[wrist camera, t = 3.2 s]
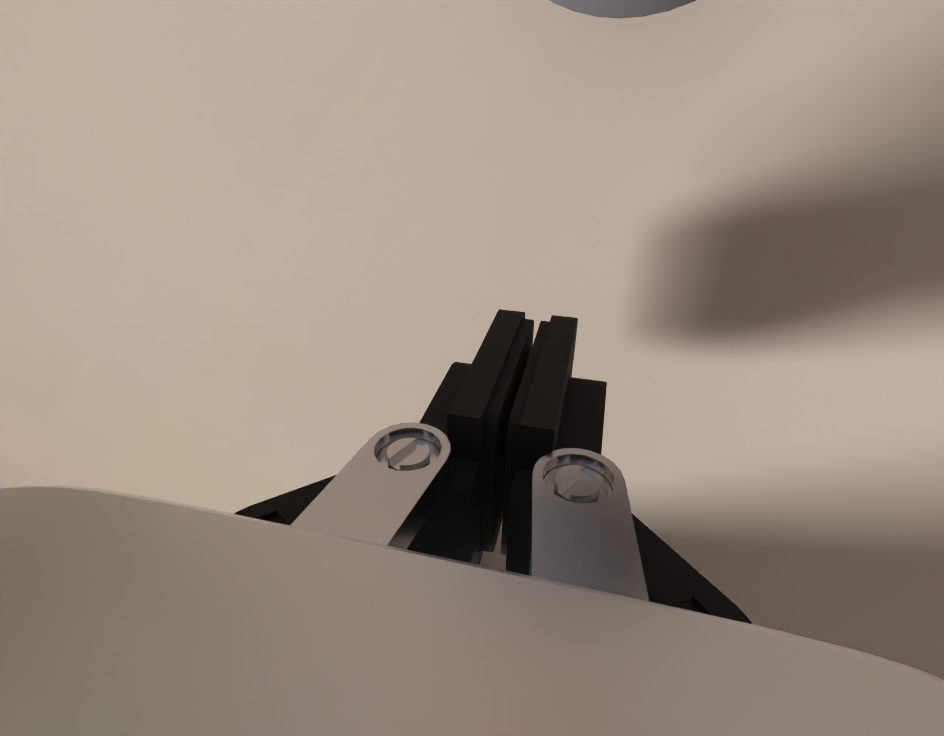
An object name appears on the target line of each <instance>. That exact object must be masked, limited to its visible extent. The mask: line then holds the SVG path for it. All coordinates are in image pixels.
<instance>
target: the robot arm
mask: <svg viewBox="0 0 944 736" xmlns="http://www.w3.org/2000/svg"><path fill="white" fill-rule="evenodd" d="M577 322H578V318H572V317H563V316H554V315H552V317H551V320H550V322H547V321H541V322H540V325H539V328H538V331H537V335H536V338H535V341H534V344H533V330H534V320H529V319H525V312H518V311H509V310H500V309H499V311H498V312H497V314H496V316H495V318H494V320H493V322H492V324H491V326H490V328H489V330H488V332H487V334H486V336H485V338H484V340H483V343H482V345H481V347H480V349H479V351H478V353H477V355H476V357H475V359H474V361H473V363H472V364H467V363H460V362H454V363H453V364H452V365H451V367H450V369H449V371H448V372H447V374H446V376H445V378H444V380H443V381H442V383H441V385H440V387H439V389H438V390H437V392H436V394H435V396H434V397H433V399H432V401H431V403H430V405H429V406H428V408H427V410H426V412H425V414H424V415H423V417H422V419H421V421H420V423H401V424H397V425H392V426H389V427H387V428H385V429H383V430H381V431H379V432H378V433H376V434H375V435H374V436H373V437H371V438H370V439H369V441H368V442H367V443H366V444H365V445H364V446H363V447H362V448H361V449H360V450H359V451H358V452H357V454H356V455H355V456H354V457H353V458H352V459H351V460H350V461H349V462H348V463H347V464H346V465H345V467H344V468H343V469H342V470H341V471H340V472H339V473H338V474H337V475H335V476H332V477H330V478H327V479H324V480H321V481H318V482H316V483H313V484H310V485H307V486H304V487H302V488H299V489H296V490H293V491H290V492H288V493H285V494H282V495H279V496H277V497H274V498H271V499H268V500H265V501H263V502H260V503H257V504H254V505H251V506H249V507H247V508H245V509H243V510H240V511H238V512H236V513H235V514H231V513H226V512H221V511H216V510H211V509H206V508H201V507H196V506H191V505H186V504H182V503H177V502H172V501H167V500H162V499H156V498H150V497H144V496H138V495H132V494H126V493H120V492H114V491H107V490H101V489H95V488H83V487H72V486H20V487H11V488H2V489H0V736H944V679H942V678H939V677H937V676H934V675H932V674H929V673H927V672H924V671H922V670H919V669H917V668H914V667H910V666H907V665H904V664H901V663H898V662H894V661H891V660H888V659H885V658H882V657H879V656H875V655H872V654H869V653H866V652H863V651H859V650H855V649H851V648H847V647H843V646H839V645H835V644H831V643H827V642H823V641H819V640H815V639H811V638H807V637H803V636H799V635H795V634H791V633H787V632H783V631H780V630H777V629H771V628H767V627H763V626H759V625H754V624H752V623H751V621H750V620H749V619H748V618H747V617H746V615H745V614H744V613H743V612H742V611H741V610H740V609H739V608H738V607H737V606H736V605H735V604H734V603H733V602H732V601H731V600H729V599H728V598H727V597H726V596H725V595H724V594H723V593H721V592H720V591H719V590H718V589H717V588H716V587H715V586H714V585H712V584H711V583H710V582H709V581H708V580H707V579H706V578H704V577H703V576H702V575H701V574H700V573H699V572H698V571H697V570H695V569H694V568H693V567H692V566H691V565H690V564H689V563H687V562H686V561H685V560H684V559H683V558H682V557H681V556H679V555H678V554H677V553H676V552H675V551H674V550H673V549H672V548H670V547H669V546H668V545H667V544H666V543H665V542H664V541H662V540H661V539H660V538H659V537H658V536H657V535H656V534H655V533H653V532H652V531H651V530H650V529H649V528H648V527H647V526H645V525H644V524H643V523H642V522H641V521H640V520H639V519H638V518H636V517H635V516H634V515H633V514H632V513H631V508H630V503H629V498H628V493H627V488H626V483H625V480H624V477H623V475H622V473H621V470H620V469H619V468H618V467H617V466H616V465H615V464H614V463H613V462H612V461H610V460H609V459H607V458H606V457H604V456H603V455H601V449H602V436H603V423H604V411H605V398H606V385H607V382H603V381H595V380H587V379H580V378H572V377H571V375H572V366H573V358H574V349H575V340H576V332H577ZM532 345H533V347H532ZM501 522H502V541H501V554H503V555H507V556H506V570H507V571H505V570H501V569H496V568H491V567H486V566H482V565H479V564H480V560H481V557H482V554H483V551H488V552H493V551H494V548H495V544H496V541H497V537H498V533H499V530H500V526H501Z"/></svg>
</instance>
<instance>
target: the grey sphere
mask: <svg viewBox="0 0 944 736" xmlns="http://www.w3.org/2000/svg"><path fill="white" fill-rule="evenodd" d="M550 1H551V2H553V3H555V4H558V5H560V6H562V7H565V8H567V9H570V10H572V11H575V12H579V13H583V14H588V15H592V16H596V17H609V18H629V17H642V16H648V15H652V14H657V13H661V12H665V11H669V10H672V9H675V8H677V7H680V6H683V5H686V4H688V3H691V2H694V1H696V0H550Z"/></svg>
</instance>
